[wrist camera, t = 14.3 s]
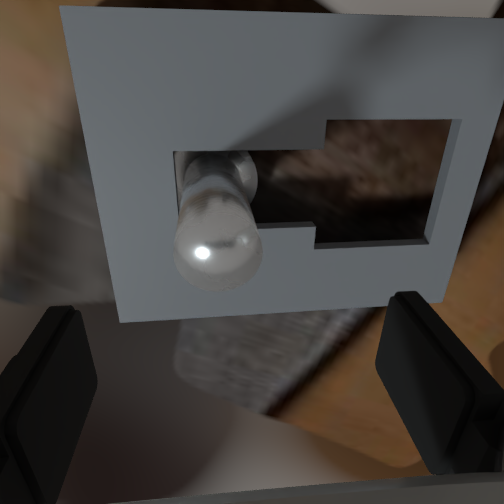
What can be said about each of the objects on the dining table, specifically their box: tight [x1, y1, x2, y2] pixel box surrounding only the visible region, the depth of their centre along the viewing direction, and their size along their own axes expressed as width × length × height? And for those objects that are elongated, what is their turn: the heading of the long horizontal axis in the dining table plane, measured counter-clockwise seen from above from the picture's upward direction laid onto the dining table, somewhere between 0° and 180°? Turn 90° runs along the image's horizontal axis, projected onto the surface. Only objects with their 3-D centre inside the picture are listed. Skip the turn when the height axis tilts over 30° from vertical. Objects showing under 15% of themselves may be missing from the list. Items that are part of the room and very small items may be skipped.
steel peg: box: [173, 150, 263, 292], centre depth 22 cm, size 6×6×13 cm
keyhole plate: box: [59, 6, 504, 323], centre depth 26 cm, size 20×26×4 cm
